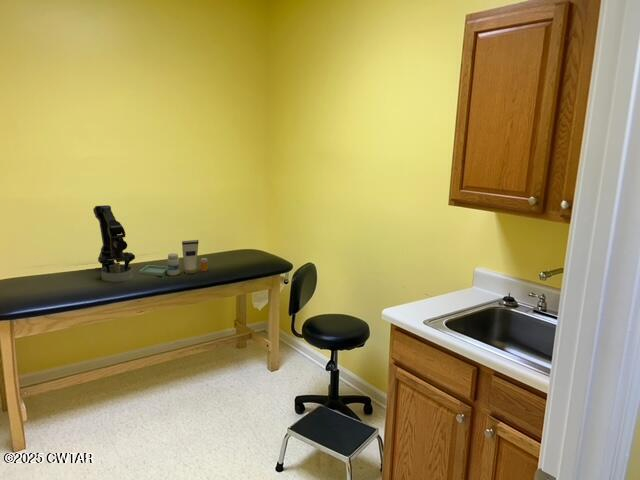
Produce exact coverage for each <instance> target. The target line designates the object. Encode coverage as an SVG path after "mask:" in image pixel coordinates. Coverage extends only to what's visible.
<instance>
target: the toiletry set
mask: <svg viewBox="0 0 640 480" xmlns="http://www.w3.org/2000/svg"><path fill="white" fill-rule="evenodd" d="M181 243H182V244H181V245H182V246H181V247H182V248H181V249H182V257H183V259H182V260H183V272H185V273H184V274H186V273H194V274H196V273H197V265H198V264H197V259H198V252H199V239H193V240H191V239H190V240H182V241H181ZM208 262H209V260H208V258H206V257H203V258H200V271H201V270H202V271H201V272H203V271H205V272H207V271H208ZM180 263H181V262H180V258H179V254H178V253H173V252H172V253H168V254H167V258H166V267H167V274H166V275H168V276H178V275H179V274H180V273H181V272H180V266H181V265H180ZM206 270H207V271H206ZM195 272H196V273H195ZM177 274H178V275H177Z"/></svg>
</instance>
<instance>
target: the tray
mask: <svg viewBox="0 0 640 480" xmlns="http://www.w3.org/2000/svg"><path fill="white" fill-rule="evenodd" d="M166 273H167V265H166V266H165V265H164V266H163V265H154V264H153V265H152V264H147V265H145V266H144V267H143V268H141V269H140V270H138V274H139V275H148V276H149V275H151V276H156V277H157V276H163V275H164V274H165V275H167V274H166ZM165 275H164V276H165ZM164 276H163V277H164Z"/></svg>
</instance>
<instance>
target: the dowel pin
mask: <svg viewBox="0 0 640 480" xmlns="http://www.w3.org/2000/svg"><path fill="white" fill-rule="evenodd" d="M120 264H121V262H115V263H114V271H115V273H120Z"/></svg>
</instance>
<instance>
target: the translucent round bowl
mask: <svg viewBox="0 0 640 480" xmlns="http://www.w3.org/2000/svg"><path fill="white" fill-rule="evenodd" d="M109 270H110V273H108V271H107V269H106V267H104V268H102V267H101V269H100V271H101V280H102V281H105V282H113V283H117V282H125V281H128V280H131V279H132V278H134V267H133V266H132V265H130V264H129V265H128V268H127V270H126V271H125V264H121V263H120V273H115V271H114V265H110V266H109Z"/></svg>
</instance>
